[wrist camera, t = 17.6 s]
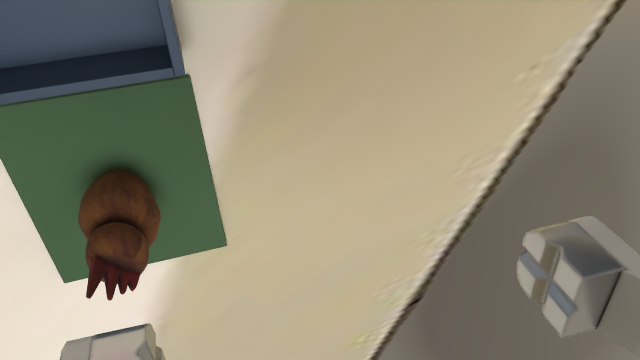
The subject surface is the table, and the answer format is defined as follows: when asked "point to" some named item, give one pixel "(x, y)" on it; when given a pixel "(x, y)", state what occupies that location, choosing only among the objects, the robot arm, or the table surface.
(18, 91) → the tray
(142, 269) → the wooden figurine
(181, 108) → the mat
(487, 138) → the table surface
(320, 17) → the table surface
